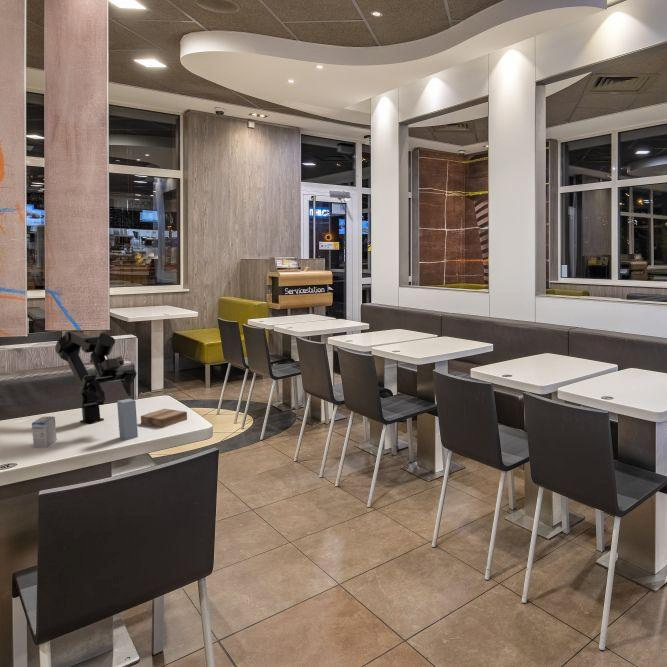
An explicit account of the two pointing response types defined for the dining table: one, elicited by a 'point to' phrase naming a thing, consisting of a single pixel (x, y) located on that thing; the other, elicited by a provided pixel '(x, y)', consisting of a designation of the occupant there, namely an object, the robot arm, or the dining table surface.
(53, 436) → the medicine box
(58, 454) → the dining table surface
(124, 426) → the pillar block
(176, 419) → the walnut plinth
